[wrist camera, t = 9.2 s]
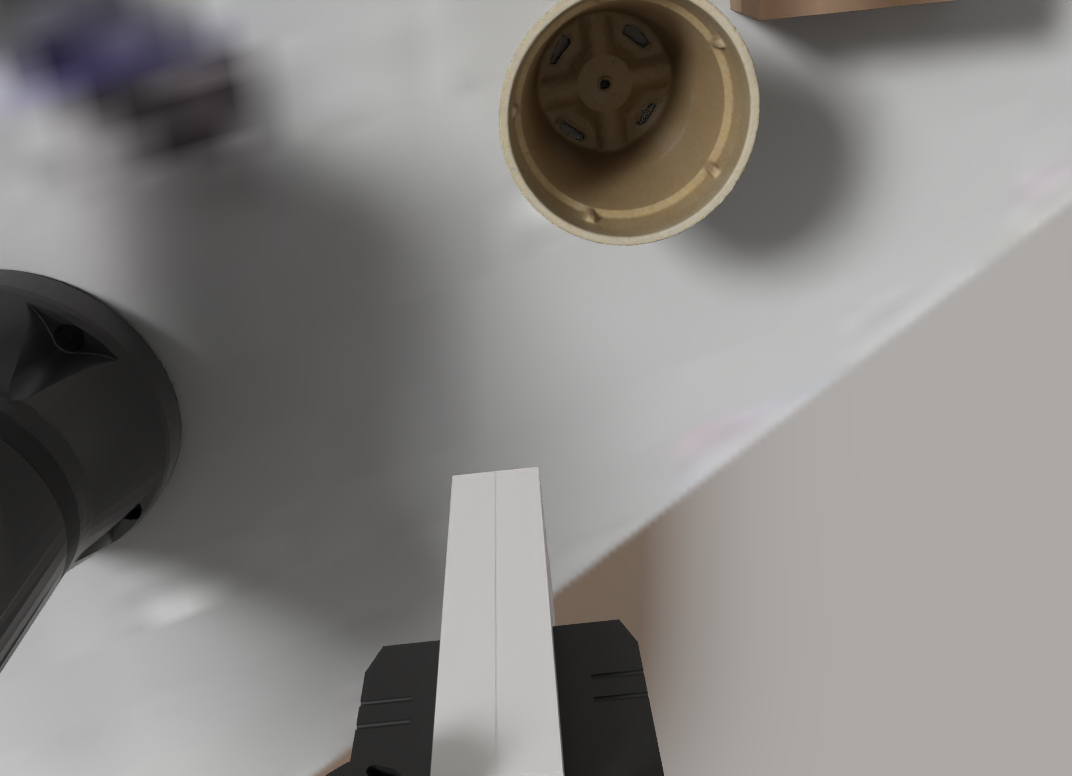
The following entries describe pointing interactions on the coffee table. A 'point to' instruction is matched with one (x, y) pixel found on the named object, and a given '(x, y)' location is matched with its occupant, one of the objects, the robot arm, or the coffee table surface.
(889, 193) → the coffee table surface
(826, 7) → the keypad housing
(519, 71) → the flower pot
